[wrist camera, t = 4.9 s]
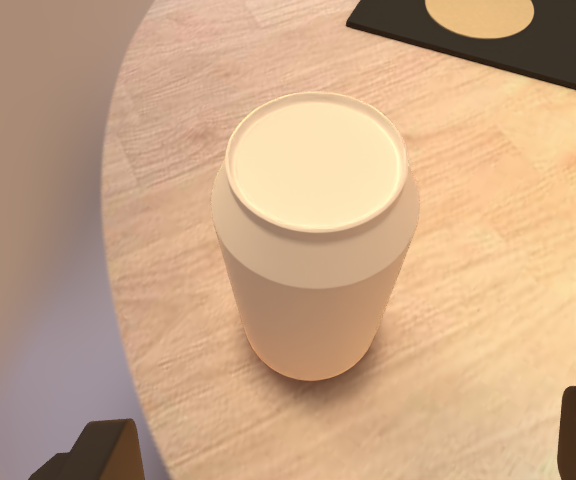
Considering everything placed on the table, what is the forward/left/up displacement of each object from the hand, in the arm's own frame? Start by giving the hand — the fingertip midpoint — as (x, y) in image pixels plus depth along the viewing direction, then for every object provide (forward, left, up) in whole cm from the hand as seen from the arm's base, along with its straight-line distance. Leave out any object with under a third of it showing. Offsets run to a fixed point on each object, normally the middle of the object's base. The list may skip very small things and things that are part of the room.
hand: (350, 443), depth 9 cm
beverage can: (-4, +6, -12) cm, 14 cm away
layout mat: (-3, +33, -12) cm, 36 cm away
